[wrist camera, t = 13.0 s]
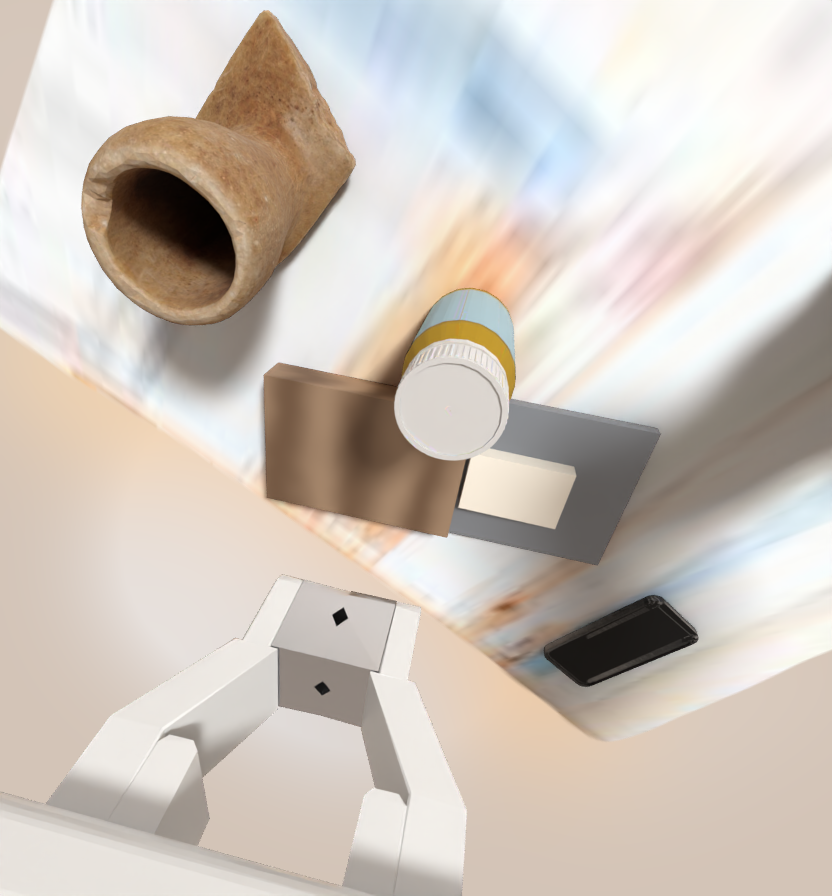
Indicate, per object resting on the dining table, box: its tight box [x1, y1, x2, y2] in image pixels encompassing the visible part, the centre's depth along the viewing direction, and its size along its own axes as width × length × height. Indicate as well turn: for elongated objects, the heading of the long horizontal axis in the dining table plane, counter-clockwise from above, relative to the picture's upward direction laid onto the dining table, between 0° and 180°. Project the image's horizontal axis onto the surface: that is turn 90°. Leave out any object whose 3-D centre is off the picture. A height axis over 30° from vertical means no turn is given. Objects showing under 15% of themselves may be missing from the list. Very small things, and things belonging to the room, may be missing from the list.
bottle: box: [394, 288, 516, 460], centre depth 32 cm, size 7×7×15 cm
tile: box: [458, 448, 576, 529], centre depth 43 cm, size 9×6×2 cm, turn 81°
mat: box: [449, 399, 660, 565], centre depth 43 cm, size 15×15×1 cm
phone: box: [544, 595, 698, 687], centre depth 52 cm, size 8×1×15 cm
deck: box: [264, 363, 466, 538], centre depth 44 cm, size 18×13×3 cm
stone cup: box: [81, 10, 356, 325], centre depth 28 cm, size 15×12×15 cm
